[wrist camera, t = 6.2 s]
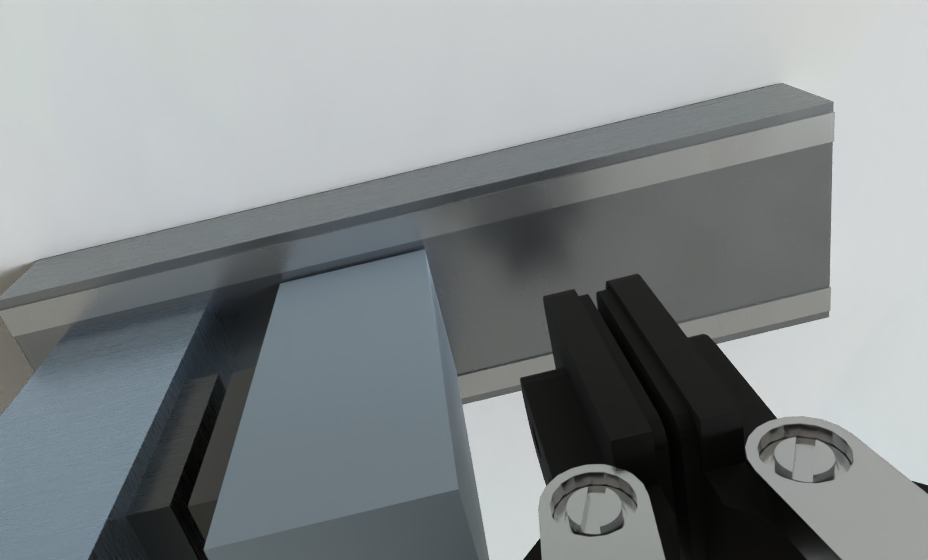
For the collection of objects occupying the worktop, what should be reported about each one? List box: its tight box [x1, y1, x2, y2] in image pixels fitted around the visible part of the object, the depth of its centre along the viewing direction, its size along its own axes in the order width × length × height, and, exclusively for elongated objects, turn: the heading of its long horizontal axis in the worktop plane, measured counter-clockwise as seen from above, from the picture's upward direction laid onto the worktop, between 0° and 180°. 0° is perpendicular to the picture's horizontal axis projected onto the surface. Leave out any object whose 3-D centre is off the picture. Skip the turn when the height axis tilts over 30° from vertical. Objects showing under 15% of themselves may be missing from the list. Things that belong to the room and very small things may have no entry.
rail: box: [0, 83, 835, 560], centre depth 13 cm, size 5×17×9 cm, turn 102°
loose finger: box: [188, 249, 489, 560], centre depth 12 cm, size 3×4×7 cm
